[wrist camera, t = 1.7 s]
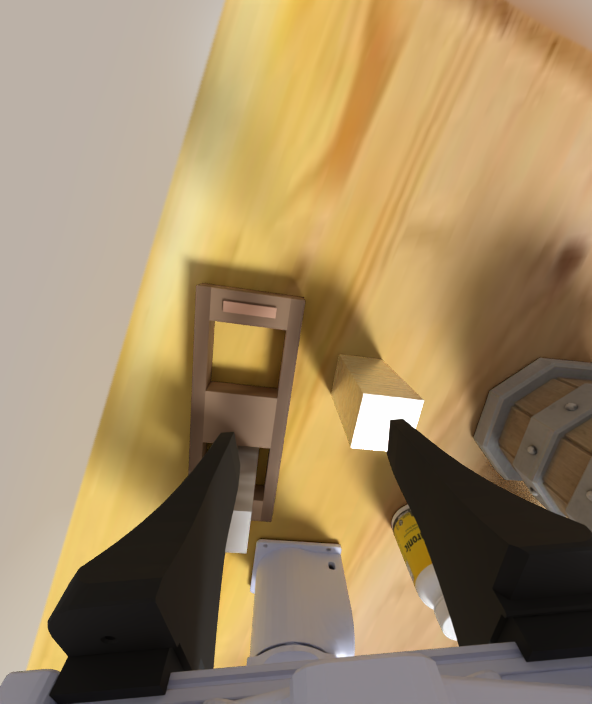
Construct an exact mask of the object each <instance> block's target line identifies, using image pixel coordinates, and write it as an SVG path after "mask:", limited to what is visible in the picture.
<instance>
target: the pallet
mask: <svg viewBox="0 0 592 704" xmlns="http://www.w3.org/2000/svg"><path fill="white" fill-rule="evenodd" d="M304 307H305V299H304V297H298V296H290V295H283V294H276V293H269V292H262V291H255V290H248V289H241V288H234V287H227V286H220V285H213V284H206V283H202V284H199V285H196V302H195V326H194V351H193V376H192V401H191V425H190V450H189V474H190V473H191V472H192V471H193V469H194V468H195V467H196V466H197V464H198V463H199V462H200V460H201V459H202V458H203V456H204V455H205V454H206V452H207V443H214V441H215V440H216V438H217V437H218V435H219V434H220V433H224V432H234V433H235V439H236V444H237V449H238V455H239V460H240V476H239V486H238V491H237V496H236V501H235V505H234V510H233V515H232V519H231V524H230V528H229V533H228V538H227V543H226V549H225V552H231V553H247V545H248V537H249V529H250V521H266V522H271V521H272V515H273V508H274V502H275V495H276V489H277V482H278V476H279V469H280V463H281V456H282V450H283V443H284V437H285V430H286V424H287V417H288V411H289V404H290V398H291V391H292V385H293V378H294V372H295V365H296V359H297V352H298V346H299V339H300V333H301V326H302V320H303V313H304ZM215 321H219V322H227V323H234V324H242V325H250V326H257V327H265V328H273V329H280V330H286V331H285V339H284V346H283V353H282V360H281V368H280V375H279V382H278V389H277V388H268V387H259V386H250V385H241V384H232V383H223V382H214V381H211V374H212V358H213V342H214V326H215ZM259 447H260V448H269V455H268V462H267V469H266V477H265V484H264V486H263V485H255V479H256V471H257V462H258V454H259Z"/></svg>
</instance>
